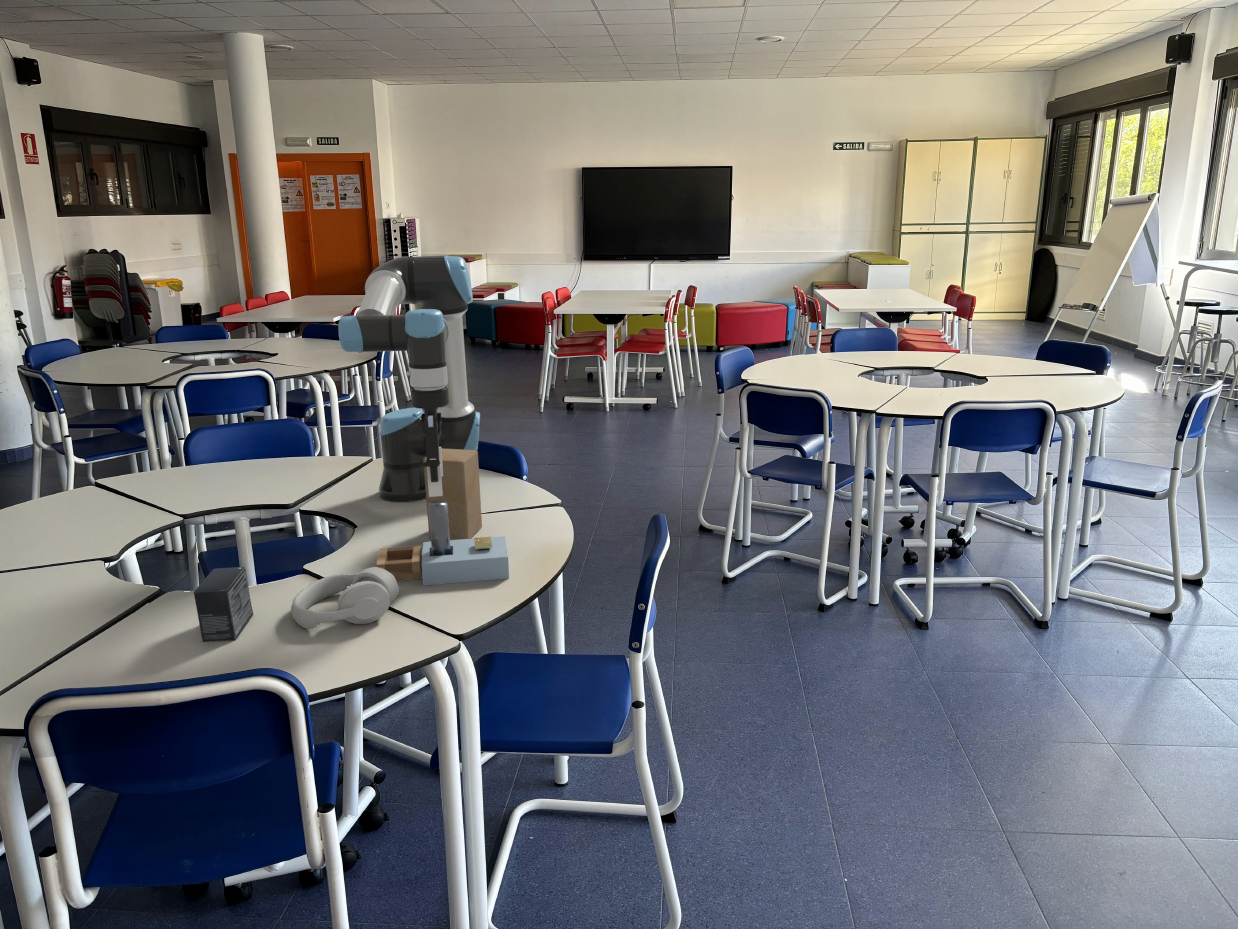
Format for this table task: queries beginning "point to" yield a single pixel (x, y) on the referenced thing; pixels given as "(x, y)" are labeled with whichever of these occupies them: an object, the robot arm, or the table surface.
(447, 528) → the cylinder
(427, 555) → the socket block
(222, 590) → the small box
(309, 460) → the table surface
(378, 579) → the headphones
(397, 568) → the rack
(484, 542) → the small square tan block
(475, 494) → the wooden block
